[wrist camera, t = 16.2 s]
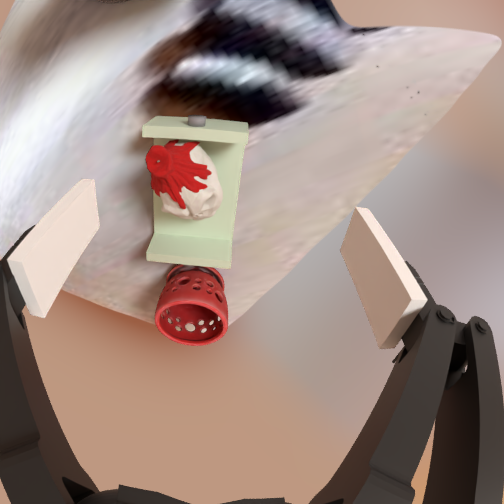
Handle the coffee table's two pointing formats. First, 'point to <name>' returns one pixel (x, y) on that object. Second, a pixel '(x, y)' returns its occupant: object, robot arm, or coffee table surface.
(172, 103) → the coffee table surface
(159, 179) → the candle
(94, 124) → the coffee table surface
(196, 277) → the plant pot
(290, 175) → the coffee table surface
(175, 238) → the holder
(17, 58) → the coffee table surface
